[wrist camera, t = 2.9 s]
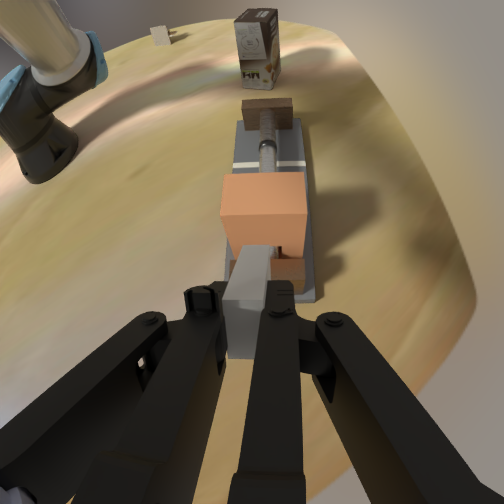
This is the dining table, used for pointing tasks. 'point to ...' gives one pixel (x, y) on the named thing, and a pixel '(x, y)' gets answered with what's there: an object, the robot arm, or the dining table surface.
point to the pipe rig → (268, 121)
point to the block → (265, 211)
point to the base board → (287, 161)
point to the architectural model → (161, 35)
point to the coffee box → (258, 47)
